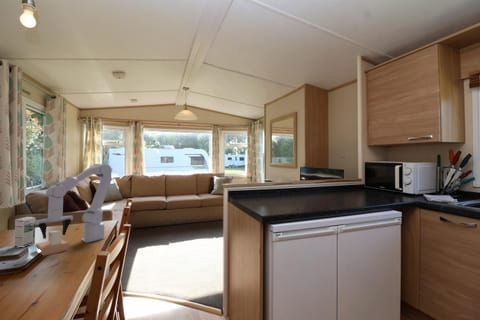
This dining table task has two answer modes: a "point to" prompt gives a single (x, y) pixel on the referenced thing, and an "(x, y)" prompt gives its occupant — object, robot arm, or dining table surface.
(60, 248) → the base block
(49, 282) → the dining table surface
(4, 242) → the dining table surface
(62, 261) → the dining table surface
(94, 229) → the robot arm
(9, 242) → the dining table surface
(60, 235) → the white upright block
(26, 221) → the syrup box
